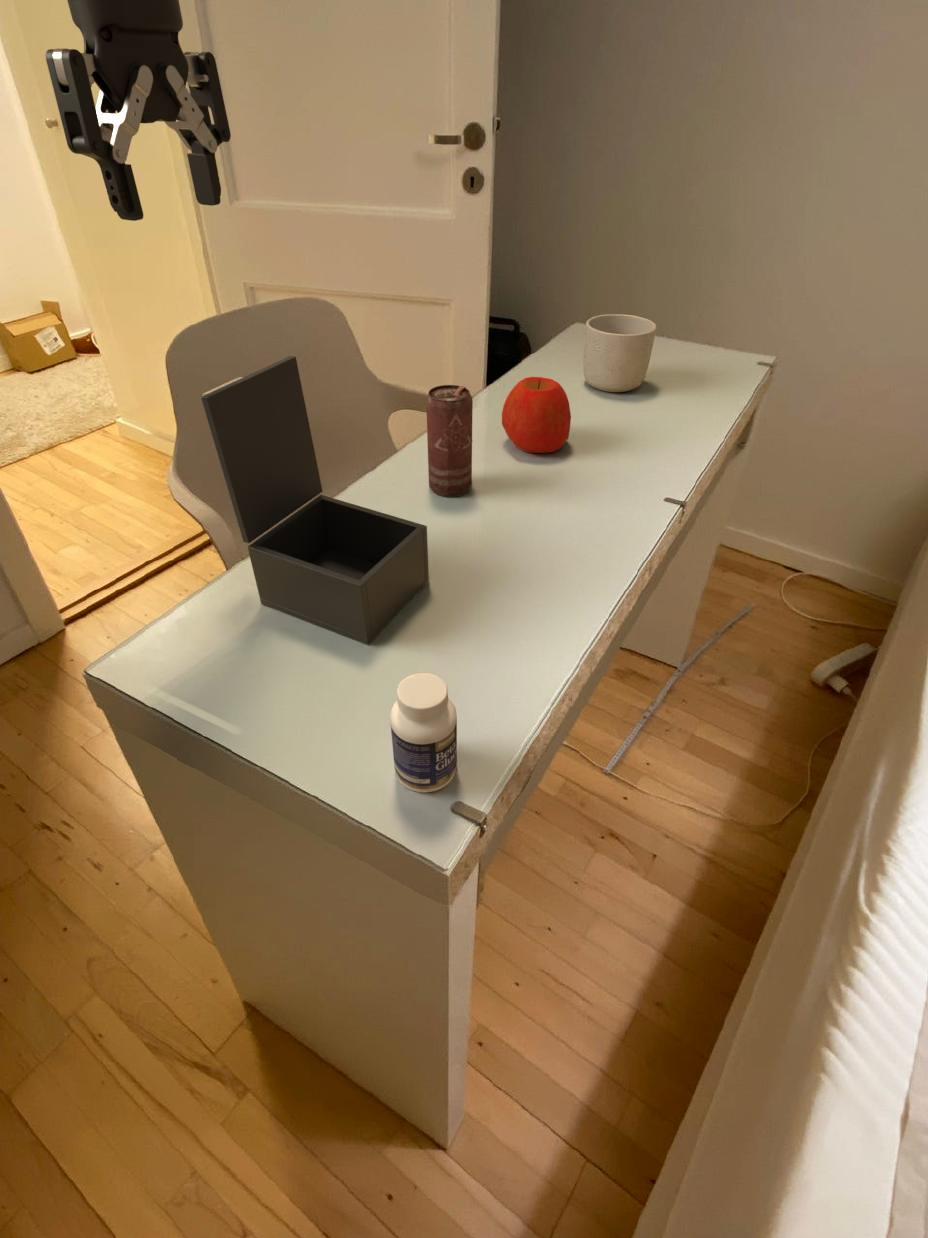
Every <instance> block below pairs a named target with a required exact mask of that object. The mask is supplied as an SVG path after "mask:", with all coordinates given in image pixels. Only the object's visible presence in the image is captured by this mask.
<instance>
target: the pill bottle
mask: <svg viewBox="0 0 928 1238" xmlns="http://www.w3.org/2000/svg"><path fill="white" fill-rule="evenodd" d="M447 685H448V684H447V683H446V682H445V681H444V679H443V678H441V677H440V676H438V675H436V674H433V673H429V672H419V673H414V674H411V675H408V676H406V677H405V678H403V679H402V680H401V681H400V683H399V684H398V686H397V689H396V701H395V702H394V704H393V706H392V708H391V710H390V716H389V717H390V718H389V720H390V722H389V723H390V732H391V744H392V757H393V765H394V771H395V776H396V778H397V779H398V781H399V783H401V784H402V785H403V787H405V788H406V789H409V790H410V791H413V792H418V793H431V792H436V791H439V790H440V789H443V788H445V787H446V786H448V784H450V782H451V781H452V780H453V778H454V777H455V775H456V771H457V766H458V747H457V746H458V717H457V710H456V706H455V704H454V703H453V701H452V700H451V699H450V698H449V689H448V686H447Z"/></svg>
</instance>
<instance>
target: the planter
mask: <svg viewBox="0 0 928 1238" xmlns="http://www.w3.org/2000/svg"><path fill="white" fill-rule="evenodd" d="M656 333H657V324H656V323H655V322H653V321H652V320H650V319H648V318H646V317H642V316H638V315H634V314H633V315H631V314H622V313H609V314H608V313H607V314H600V315H599V314H598V315H595V316H592V317H590V318H588V319H587V321H586V322H585V331H584V345H583V359H582V360H583V364H582V365H583V366H582V367H583V371H582V372H583V376H584V379H585V381H586V382H587V384H588V385H590V386H591V388H592V387H593V389H596V390H599V391H602V392H607V393H625V392H629V391H633V390H635V389H637V388H638V387H640V386H641V385H642V383H643V382H644V380H645V378H646V375H647V372H648V369H649V365H650V360H651V357H652V352H653V347H654V343H655V337H656Z"/></svg>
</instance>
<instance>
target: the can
mask: <svg viewBox="0 0 928 1238" xmlns="http://www.w3.org/2000/svg"><path fill="white" fill-rule="evenodd" d="M470 391H471V390H469V389H468V388H467V387H466V386H464V385H455V384H443V385H437V386H434V387H432V388H431V389H429V391H428V394H427V396H426V398H425V407H426V436H427V437H426V439H427V466H428V467H427V468H428V469H427V470H428V487H429V488H430V490H431V491H432V493H434V494H436V495H437V496H440V497H444V498H456V497H460V496H463V495H465V494H467V493H468V491H470V490H471V487H472V484H473V483H472V481H473V479H472V478H473V405H474V403H473V402H474V401H473V396H472V395H471V392H470Z"/></svg>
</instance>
